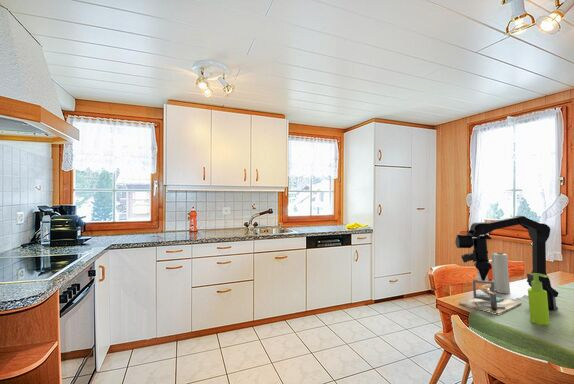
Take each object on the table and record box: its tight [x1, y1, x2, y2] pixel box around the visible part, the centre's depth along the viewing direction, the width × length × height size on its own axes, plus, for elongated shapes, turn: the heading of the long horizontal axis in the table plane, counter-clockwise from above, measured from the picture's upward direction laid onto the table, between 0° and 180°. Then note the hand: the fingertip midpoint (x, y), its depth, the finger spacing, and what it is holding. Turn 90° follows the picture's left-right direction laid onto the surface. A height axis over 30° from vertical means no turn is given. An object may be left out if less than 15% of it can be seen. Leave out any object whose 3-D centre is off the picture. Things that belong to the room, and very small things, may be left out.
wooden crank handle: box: [479, 283, 497, 311], centre depth 135 cm, size 6×23×7 cm, turn 145°
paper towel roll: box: [490, 252, 511, 294], centre depth 154 cm, size 7×6×21 cm
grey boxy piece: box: [472, 271, 496, 300], centre depth 136 cm, size 4×8×12 cm, turn 59°
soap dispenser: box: [527, 272, 551, 326], centre depth 113 cm, size 6×7×20 cm
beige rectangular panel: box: [458, 292, 523, 315], centre depth 135 cm, size 17×24×2 cm
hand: (482, 279), depth 136 cm, fingers closed on grey boxy piece, 2 cm apart
